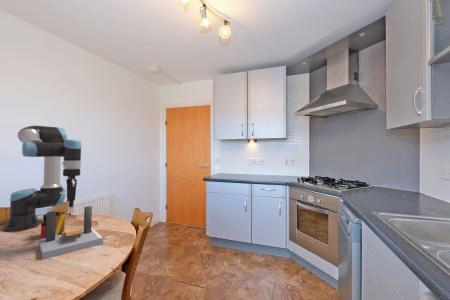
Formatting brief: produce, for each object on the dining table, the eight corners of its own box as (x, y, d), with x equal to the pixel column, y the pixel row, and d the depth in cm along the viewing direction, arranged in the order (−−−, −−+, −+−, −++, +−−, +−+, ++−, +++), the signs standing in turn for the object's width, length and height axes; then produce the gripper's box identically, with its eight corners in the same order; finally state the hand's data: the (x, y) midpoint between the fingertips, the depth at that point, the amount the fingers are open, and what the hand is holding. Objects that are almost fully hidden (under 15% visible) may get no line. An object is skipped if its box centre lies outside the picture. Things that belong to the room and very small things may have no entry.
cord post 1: (45, 240, 105) (46, 212, 106) (54, 238, 108) (55, 210, 108) (46, 242, 103) (47, 213, 103) (55, 240, 105) (56, 212, 106)
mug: (40, 242, 110) (41, 219, 110) (43, 234, 121) (44, 213, 121) (63, 238, 115) (64, 216, 116) (64, 231, 127) (65, 211, 127)
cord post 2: (82, 232, 117) (83, 207, 117) (90, 230, 119) (91, 205, 120) (84, 234, 114) (85, 208, 115) (92, 232, 117) (92, 207, 117)
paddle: (62, 235, 110) (62, 232, 110) (76, 232, 114) (76, 229, 115) (66, 236, 102) (66, 232, 102) (81, 233, 106) (81, 229, 106)
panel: (38, 245, 106) (39, 231, 107) (92, 233, 123) (93, 221, 124) (42, 259, 92) (43, 243, 93) (103, 243, 109) (103, 230, 110)
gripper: (61, 167, 114) (59, 211, 114) (65, 169, 105) (63, 216, 104) (77, 167, 119) (76, 209, 119) (83, 169, 110) (81, 214, 110)
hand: (70, 212), depth 112 cm, fingers closed
